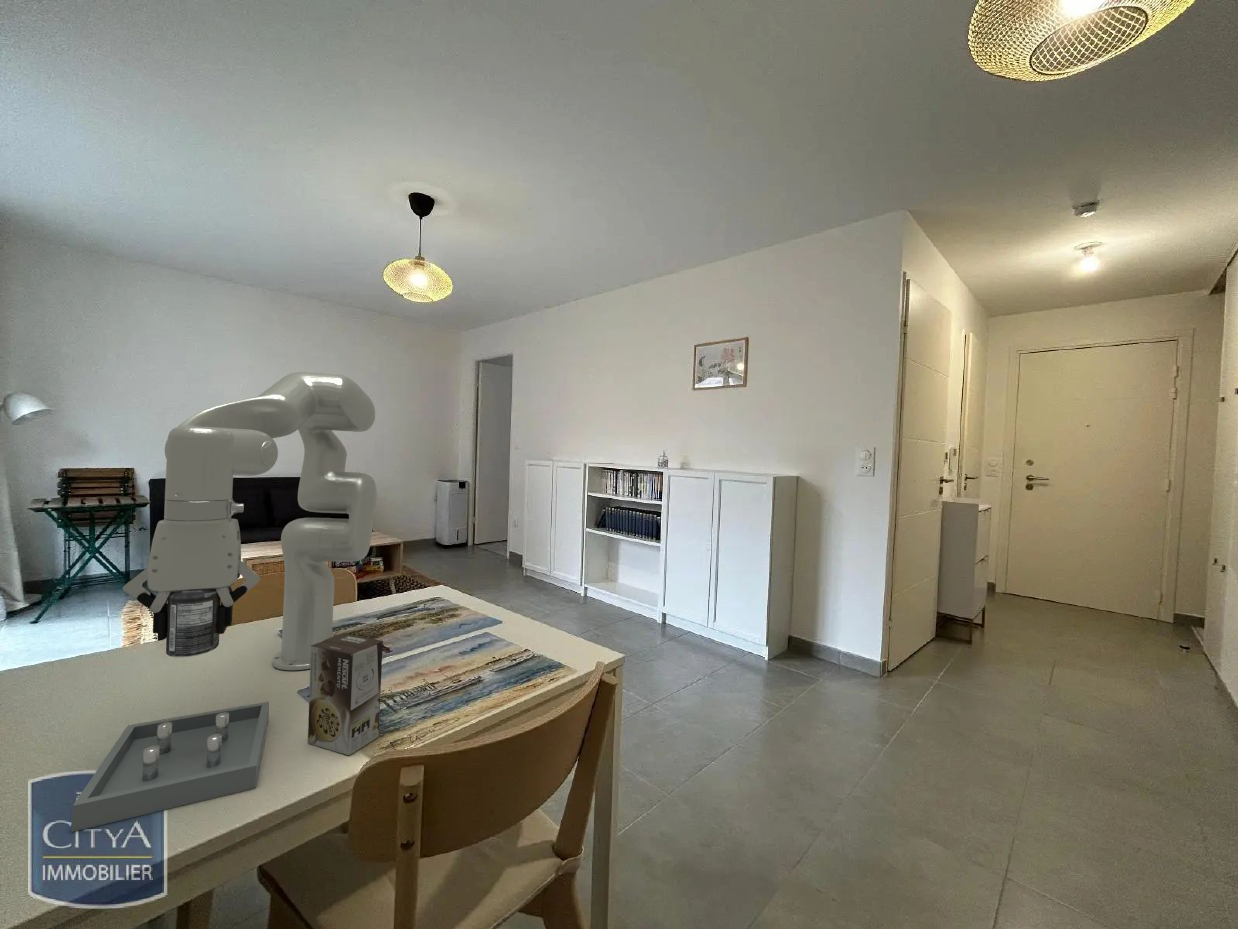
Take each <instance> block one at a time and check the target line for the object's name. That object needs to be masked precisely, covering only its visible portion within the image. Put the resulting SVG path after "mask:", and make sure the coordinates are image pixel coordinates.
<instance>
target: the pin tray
mask: <svg viewBox="0 0 1238 929" xmlns="http://www.w3.org/2000/svg"><path fill="white" fill-rule="evenodd" d="M269 717H270V701H265V702H264V701H263V702H258V703H251V704H246V705H240V706H235V707H234V706H233V707H229V708H223V709H217V710H212V711H205V712H198V713H194V714H193V713H191V714H187V715H181V716H175V717H170V718H169V717H168V718H165V719H164V718H162V719H157V720H151V721H147V722H140V723H133V724H128V725H127V726H126V727H125V729H124V730H123V732H122V733H121V735H120V736H119V737H118V739H117V740H116V742H115V744H114V745H113V746H112V748H111V749H110V751H109V752H108V754H107V755H106V756H105V757H104V759H103V761H102V763H101V764H100V765H99V767H97V770H96V771H95V773H94V774H93V775H92V776H91V779H89V781H88V783H87V785H86V786H85V787H84V788H83V790H82V791H81V793H80V795H79V796H78V797H77V799H76V800H75V801H74V803H73V805H72V808H71V810H72V811H71V814H72V815H71V833H74V832H77V831H82V830H87V829H90V828H95V827H98V826H103V825H108V824H111V823H115V822H120V821H124V820H128V819H132V818H136V817H141V816H145V815H149V814H153V813H157V812H161V811H166V810H170V809H174V808H179V807H183V806H186V805H191V804H195V803H199V802H204V801H207V800H212V799H217V798H220V797H225V796H228V795H234V794H236V793H242V792H245V791H251V790H254V789H256V787H257V782H258V776H259V771H260V767H261V766H260V765H261V762H262V755H263V752H264V747H265V746H264V745H265V741H266V735H267V730H268V726H269V719H270V718H269ZM182 805H183V806H182Z"/></svg>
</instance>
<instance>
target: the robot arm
mask: <svg viewBox="0 0 1238 929" xmlns="http://www.w3.org/2000/svg"><path fill="white" fill-rule="evenodd" d="M375 420H376V409H375V406H374V403H373V400H372V399H371V398H370V396H369V395H368V394H367V393H366V391H364V390H363V389H362V387H361V386H359V384H358V383H357V382H355V381H354V380H353V379H351V378H350V377H348V376H345V375H343V374H342V375H341V374H332V373H322V372H320V373H319V372H309V371H299V372H298V371H297V372H290V373H289V374H286V375H285V376H283V377H282V378H280V379H279V380H278V381H276V382H275V383H274V384H272V385H271V386H270V387H268V389H266V390H264V391H263V392H262V393H260V394H259V395H257V396H252V397H249V398H244V399H240V400H236V401H233V402H229V403H225V404H220V405H217V406H213V407H210V408H207V409H204V410H202V411H200V412H197V413H196V414H194V415H192V416H190V417H189V418H188V419H186V420H185V421H183V422H181V423H180V424H179V425H178V426H177V427H174V428H172V429H171V430H170V431H169V433H168V435H167V440H165V441H166V442H165V446H164V456H165V459H166V467H165V488H164V512H163V513H164V515H163V518H164V519H162V520H159V521H158V522H157V524H156V528H155V530H154V533H153V534H154V535H153V538H152V542H151V548H150V554H149V560H148V566H147V567H146V568H145V569H144V570H142V571H141V572H139V573H138V574H137V575H136V576H135V577H133V578H132V579H131V580H129V581H128V582H127V583H126V584H124V585H123V586H122V591H123V592H125V593H126V594H128V596H129V595H130V596H131V597H133V598H135V599H136V600H137V602H139V603H140V604H142V605H143V606H145V607H146V608H148V609H149V612H151V613H152V614H153V617H152V634H157V638H156V640H157V641H159V642H160V641H164V640H166V637H167V610H168V596H169V595H170V593H171V592H179V591H184V590H192V589H203V590H210V589H216V590H217V592H218V594H219V596H220V599H221V601H220V607H219V610H218V632H217V633H219V635H223V634H225V632H226V630H227V628H228V627H230V626H231V627H232V624H233V623H232V622H233V608H234V603H235V602H237V601H238V600H239V599H240V598H242V597H243V596H244V595H245V594H246V593H247V592H248V591H250V590H251V589H252V588H254V587H255V585H257V584H258V583H259V582H260V581H261V575H259V574H258V573H257V572H256V571H254V570H253V569H252V568H251V567H250V566H248V565H247V564H246V563H245V562H244V561H242V544H241V543H242V542H241V541H242V540H241V530H240V525H239V521H238V519H236V518H232V516H234V515H235V514H238V513H243V512H244V507H245V504H244V503H238V502H235V501H234V498H233V487H234V486H233V485H234V484H233V483H234V476H247V477H251V476H258V475H262V474H264V473H267V472H268V471H270V470H271V469H272V468H273V467H274V466H275V464H276V462H277V461H278V456H279V448H278V446H277V443H276V442H275V440H274V439H276V438H282V437H286V436H289V435H292V434H293V433H295V432H296V431H298V433H299V435H300V437H301V440H302V443H303V448H304V449H303V450H304V451H303V452H304V454H303V462H302V466H301V472H300V477H299V483H298V491H297V502H298V506H299V507H300V508H301V509H303V510H305V511H308V512H313V513H323V514H324V513H325V514H327V513H329V514H347V515H348V518H331V517H303V518H301V517H300V518H296V519H294V520H292V521H290V522H288V523H287V524H286V525H285V526H284V528H283V529H282V531H281V537H280V546H281V551H282V558H283V565H284V585H283V587H284V588H283V589H284V590H283V605H282V606H283V609H282V610H283V611H282V632H281V651H279V652H277V653H276V654H275V655H273V657H272V663H271V664H272V666H273V667H274V668H276V669H278V670H284V671H302V670H310V659H311V645H314V644H317V643H319V642H322V641H324V640H326V639H328V638H331V637H334V636H335V634H334V632H333V623H334V604H335V603H334V600H335V576H334V574H333V572H332V570H331V569H330V567H329V565H328V564H327V563H326V562H343V563H345V562H349V563H350V562H360V561H362V560H363V559H365V557H367V555H368V553H369V552H370V551H369V550H370V548H371V547H370V546H371V543H372V536H373V529H374V528H373V527H374V519H375V513H376V505H377V491H378V490H377V484H376V482H375V480H374V478H373V477H372V476H371V475H369V474H368V473H365V472H357V471H356V472H354V471H346V465H347V464H346V462H347V456H348V454H347V450H346V447H345V445H344V444H343V442H342V441H341V440H340V438H339V437H338V436H337V435H336V434H335V433H334V432H333V431H337V432H338V431H340V432H342V431H343V432H354V433H355V432H359V433H361V432H362V433H363V432H367V431H368V430H370V429H371V428H372V427H373V425H374V422H375ZM241 576H242V577H243V579H245V581H244V582H243V583H242V584H240V585H239V586H238V587H237V588H235V589H233V587H232V586H234V585H235V584H236V583H237V580H238V579H239V578H241ZM145 582H146V584H147V588H148V590H147V589H146V588H145V587H143V584H144V583H145ZM149 590H150V591H149ZM153 592H154V593H157V594H154V593H153Z"/></svg>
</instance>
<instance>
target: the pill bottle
mask: <svg viewBox="0 0 1238 929" xmlns="http://www.w3.org/2000/svg"><path fill="white" fill-rule="evenodd" d="M221 602H222V601H221V599H220V596H219V594H218V592H217V590H216V589H210V590H203V589H192V590H184V591H179V592H171V593H170V595H169V596H168V601H167V604H168V610H167V637H166V638H165V642H166V643H165V653H166V655H168V656H169V657H173V658H190V657H196V656H200V655H203V654H207V653H209V652H213V651H214V650H215V649H217V648H218V646H219V645H220V634H219V633H217V632H218V610H219V607H220V605H221Z"/></svg>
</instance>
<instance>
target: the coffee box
mask: <svg viewBox="0 0 1238 929" xmlns="http://www.w3.org/2000/svg"><path fill="white" fill-rule="evenodd" d="M383 644H384V641H383V640H381V639H377V638H376V639H375V638H371V637H364V636H360V635H356V634H355V635H354V634H349V633H338V634H336V635H334V637H331V638H328V639H326V640H324V641H322V642H319V643H317V644H314V645H311V659H310V669H309V689H308V690H309V692H308V693H309V694H308V696H309V698H308V726H307V727H308V728H307V733H308V734H307V744H309V745H312V746H316V747H319V748H323V749H325V750H326V749H327V750H328V751H333V752H336V753H339V754H343V755H345V756H351V755H353V754H354V753H356V752H357V751H358V750H360V749H362V748H363V747H365V746H366V745H368V744H370V743H371V742H373V741H374V740H376V739H377V738H379V732H380V716H381V715H380V710H381V690H382V687H381V686H382V668H383V665H382V664H383V649H384V648H383V647H384V646H383Z"/></svg>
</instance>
